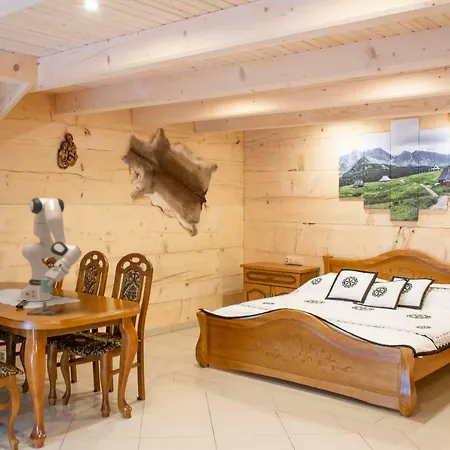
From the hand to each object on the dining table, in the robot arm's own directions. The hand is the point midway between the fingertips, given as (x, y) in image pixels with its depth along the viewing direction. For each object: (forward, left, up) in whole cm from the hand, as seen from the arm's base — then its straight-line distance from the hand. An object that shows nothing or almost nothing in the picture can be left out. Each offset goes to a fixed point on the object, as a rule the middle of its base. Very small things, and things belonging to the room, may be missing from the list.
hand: (45, 284), depth 366 cm
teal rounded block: (+1, 0, -5) cm, 5 cm away
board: (0, -1, -17) cm, 17 cm away
